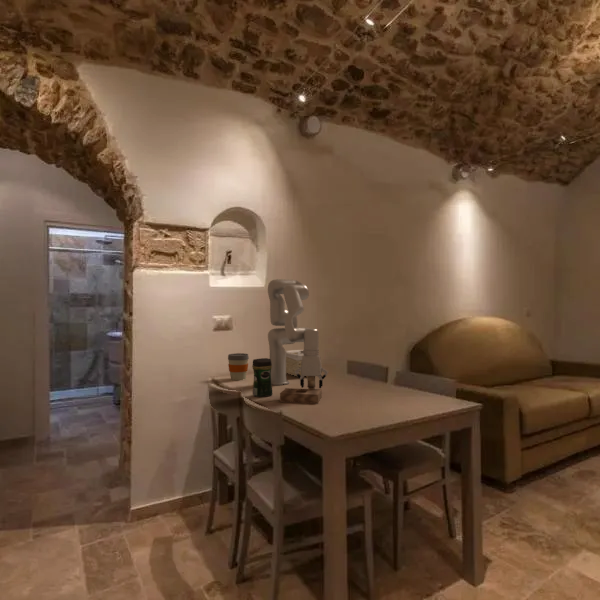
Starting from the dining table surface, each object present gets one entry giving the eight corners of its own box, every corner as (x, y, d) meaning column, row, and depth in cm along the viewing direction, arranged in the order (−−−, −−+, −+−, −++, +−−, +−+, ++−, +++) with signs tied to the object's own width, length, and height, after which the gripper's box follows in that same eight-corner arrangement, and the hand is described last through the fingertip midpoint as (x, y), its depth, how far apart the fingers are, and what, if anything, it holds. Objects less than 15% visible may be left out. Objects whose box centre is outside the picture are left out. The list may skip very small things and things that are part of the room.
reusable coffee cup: (224, 380, 257) (224, 355, 257) (232, 377, 270) (232, 353, 270) (244, 381, 255) (244, 356, 255) (251, 377, 267) (251, 353, 267)
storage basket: (320, 376, 271) (319, 353, 271) (296, 378, 264) (296, 354, 264) (303, 371, 293) (303, 349, 293) (281, 372, 285) (281, 350, 286)
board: (280, 401, 202) (280, 393, 202) (285, 396, 214) (285, 388, 214) (318, 403, 198) (318, 394, 198) (321, 397, 210) (321, 389, 210)
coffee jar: (267, 393, 222) (267, 356, 222) (274, 395, 215) (274, 358, 215) (250, 395, 217) (250, 358, 217) (256, 398, 210) (256, 360, 210)
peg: (306, 395, 216) (306, 375, 216) (308, 393, 220) (308, 374, 220) (314, 395, 215) (314, 375, 215) (316, 393, 219) (315, 374, 219)
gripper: (292, 353, 215) (293, 388, 215) (327, 354, 212) (327, 389, 212) (295, 352, 223) (296, 385, 223) (329, 352, 219) (329, 386, 219)
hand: (311, 387), depth 217 cm, fingers open, 8 cm apart
